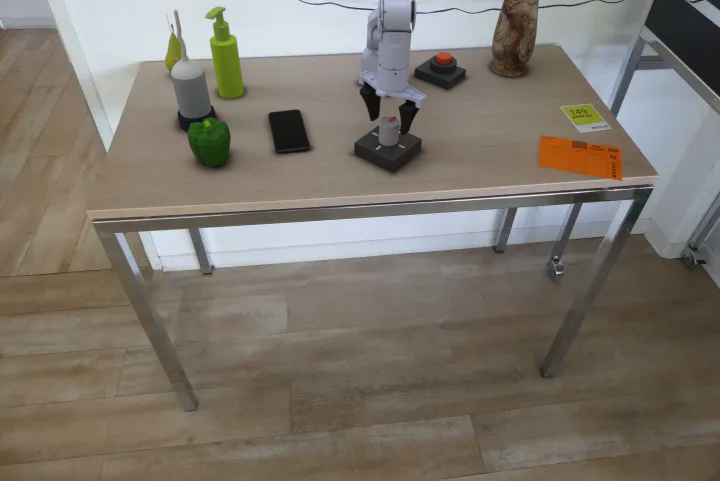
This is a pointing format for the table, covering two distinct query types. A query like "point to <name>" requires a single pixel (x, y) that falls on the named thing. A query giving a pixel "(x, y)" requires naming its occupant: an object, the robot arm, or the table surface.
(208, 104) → the humidifier
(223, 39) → the soap dispenser
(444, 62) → the power button
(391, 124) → the dial
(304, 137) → the smartphone
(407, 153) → the dial panel
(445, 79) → the button block
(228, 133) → the bell pepper
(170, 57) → the fruit
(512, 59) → the vase
